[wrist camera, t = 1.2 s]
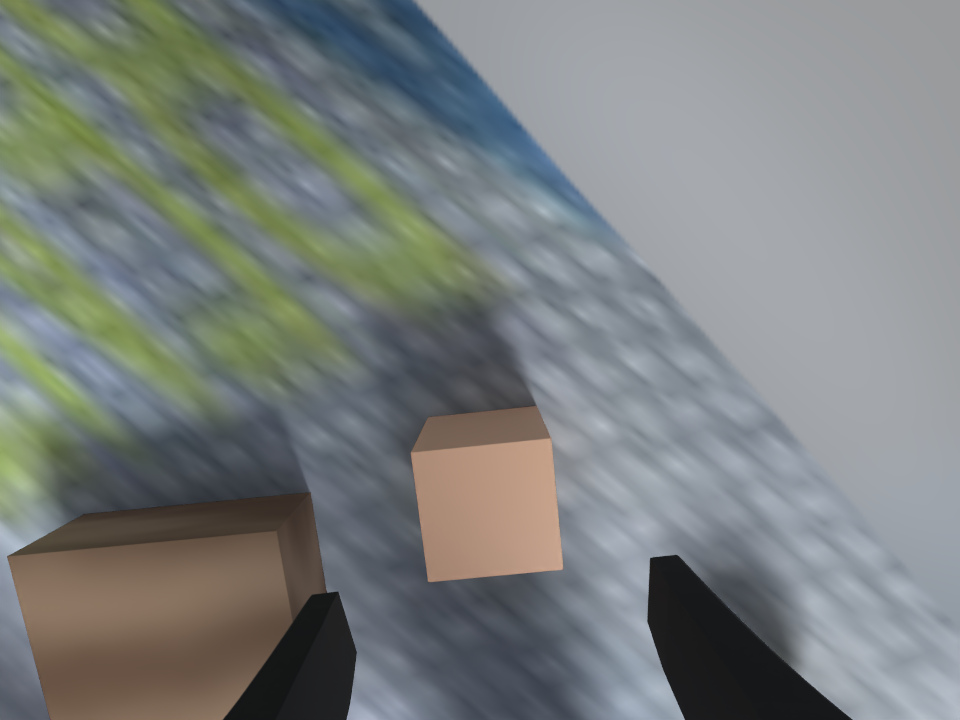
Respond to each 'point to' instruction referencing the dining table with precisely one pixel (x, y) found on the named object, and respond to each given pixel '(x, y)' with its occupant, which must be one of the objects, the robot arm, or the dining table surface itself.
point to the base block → (165, 604)
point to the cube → (487, 495)
